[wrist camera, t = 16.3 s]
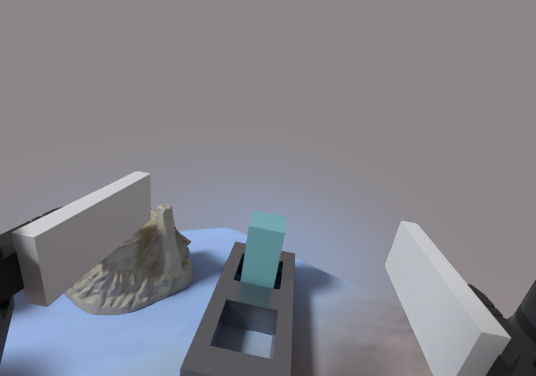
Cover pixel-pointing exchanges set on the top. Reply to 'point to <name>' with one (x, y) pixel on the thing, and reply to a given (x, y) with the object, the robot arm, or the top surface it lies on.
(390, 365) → the top surface
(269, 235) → the teal peg
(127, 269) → the ceramic cottage
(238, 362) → the grey block with holes
